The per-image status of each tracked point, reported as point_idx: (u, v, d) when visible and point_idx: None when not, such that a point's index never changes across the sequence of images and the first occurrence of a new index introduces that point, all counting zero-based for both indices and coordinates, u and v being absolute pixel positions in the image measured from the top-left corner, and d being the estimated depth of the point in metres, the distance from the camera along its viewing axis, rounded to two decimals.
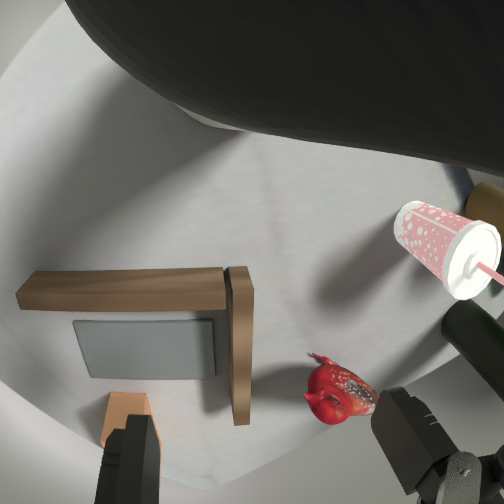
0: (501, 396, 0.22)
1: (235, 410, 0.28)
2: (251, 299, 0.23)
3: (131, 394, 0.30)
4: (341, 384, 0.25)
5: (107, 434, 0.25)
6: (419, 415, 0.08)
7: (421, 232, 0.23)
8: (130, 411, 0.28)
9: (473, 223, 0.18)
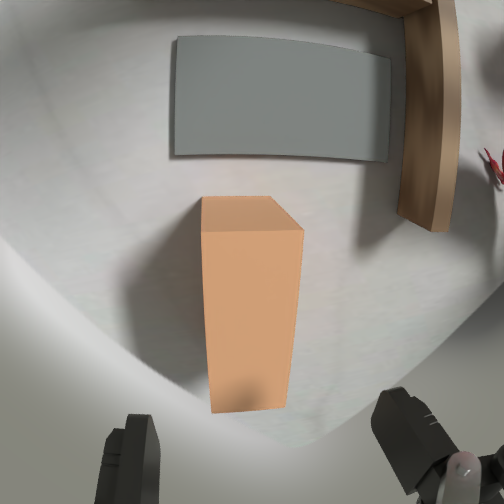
0: None
1: (438, 190, 0.16)
2: (453, 4, 0.12)
3: (243, 196, 0.19)
4: None
5: (216, 224, 0.13)
6: (419, 415, 0.08)
7: None
8: (253, 206, 0.16)
9: None
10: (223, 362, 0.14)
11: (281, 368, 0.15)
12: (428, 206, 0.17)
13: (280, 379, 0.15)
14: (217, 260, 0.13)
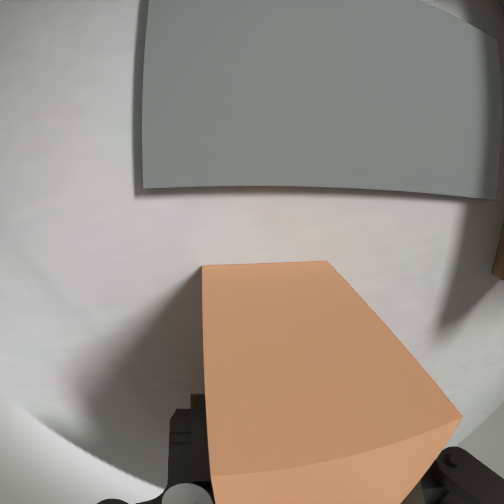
0: None
1: None
2: None
3: (282, 267, 0.10)
4: None
5: (249, 420, 0.04)
6: None
7: None
8: (313, 307, 0.07)
9: None
10: None
11: None
12: None
13: None
14: None
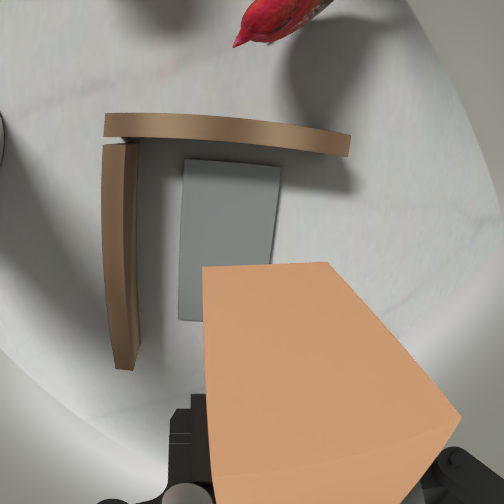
0: None
1: (312, 149, 0.19)
2: (116, 115, 0.17)
3: (282, 268, 0.10)
4: None
5: (249, 421, 0.04)
6: None
7: None
8: (313, 309, 0.08)
9: None
10: None
11: None
12: None
13: None
14: None
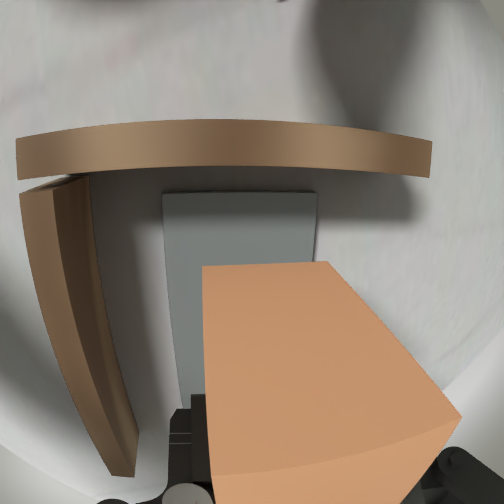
0: None
1: (378, 168, 0.11)
2: (32, 140, 0.09)
3: (282, 267, 0.10)
4: None
5: (249, 421, 0.04)
6: None
7: None
8: (313, 308, 0.08)
9: None
10: None
11: None
12: None
13: None
14: None
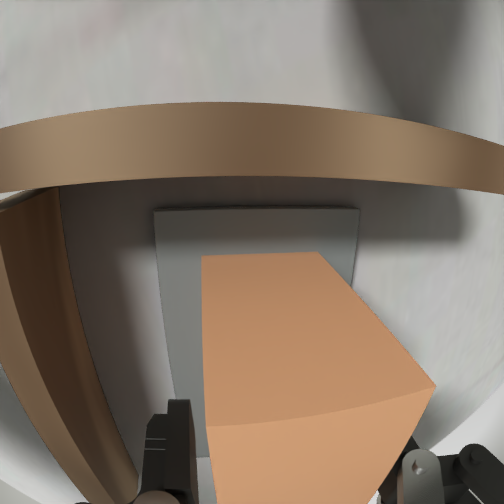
0: None
1: (454, 182, 0.07)
2: None
3: (275, 257, 0.11)
4: None
5: (240, 382, 0.05)
6: None
7: None
8: (302, 291, 0.08)
9: None
10: None
11: None
12: None
13: None
14: (246, 463, 0.05)
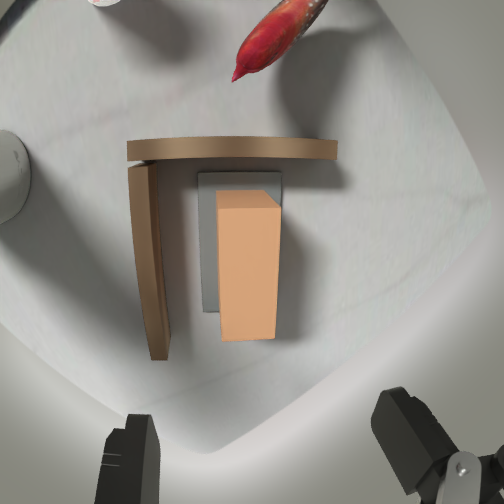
0: None
1: (305, 156, 0.23)
2: (137, 142, 0.21)
3: (245, 190, 0.27)
4: None
5: (227, 205, 0.21)
6: (419, 415, 0.08)
7: None
8: (251, 196, 0.24)
9: None
10: (231, 298, 0.22)
11: (270, 304, 0.23)
12: None
13: (270, 313, 0.23)
14: (227, 226, 0.21)
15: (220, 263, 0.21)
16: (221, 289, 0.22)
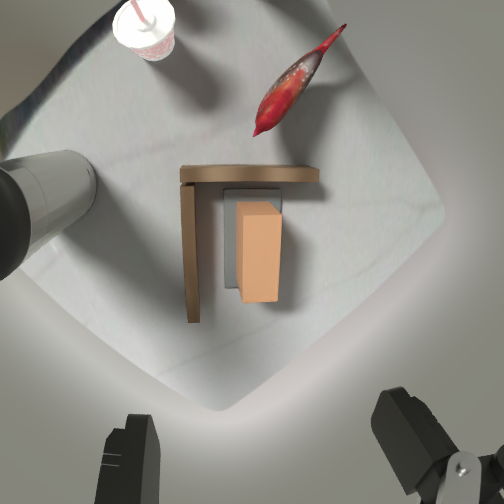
0: None
1: (297, 180, 0.36)
2: (187, 170, 0.33)
3: (256, 202, 0.39)
4: (265, 98, 0.30)
5: (248, 213, 0.34)
6: (419, 415, 0.08)
7: (142, 54, 0.28)
8: (261, 206, 0.37)
9: None
10: (249, 272, 0.35)
11: (274, 277, 0.36)
12: None
13: (274, 283, 0.36)
14: (249, 226, 0.33)
15: (243, 249, 0.34)
16: (243, 266, 0.35)
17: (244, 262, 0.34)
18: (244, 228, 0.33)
